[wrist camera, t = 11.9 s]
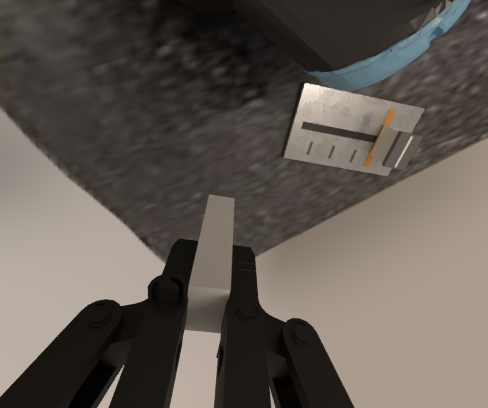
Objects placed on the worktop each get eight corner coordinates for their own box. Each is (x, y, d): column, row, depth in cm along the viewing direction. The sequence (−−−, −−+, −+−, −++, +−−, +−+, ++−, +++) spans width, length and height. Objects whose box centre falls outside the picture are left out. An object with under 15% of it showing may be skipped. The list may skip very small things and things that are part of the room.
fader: (383, 123, 39) (402, 132, 34) (402, 127, 39) (424, 136, 35) (368, 155, 41) (384, 166, 37) (386, 158, 42) (404, 170, 37)
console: (302, 82, 37) (309, 84, 34) (418, 107, 39) (435, 111, 36) (282, 154, 43) (285, 162, 40) (383, 172, 45) (394, 181, 42)
